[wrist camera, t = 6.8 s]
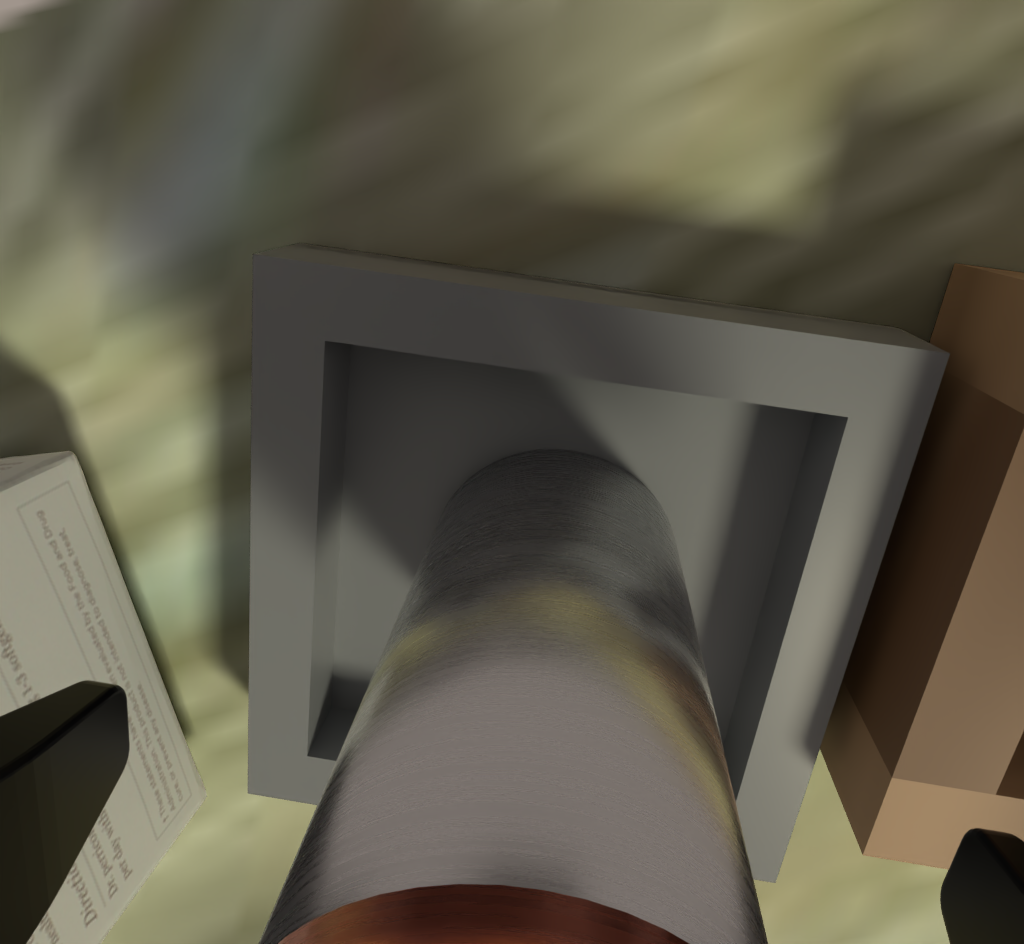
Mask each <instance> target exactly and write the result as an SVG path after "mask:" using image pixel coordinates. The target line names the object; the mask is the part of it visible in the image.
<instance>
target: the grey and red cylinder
mask: <svg viewBox="0 0 1024 944" xmlns="http://www.w3.org/2000/svg"><path fill="white" fill-rule="evenodd" d="M259 944H768V942H767V937H766V933H765V928H764V924H763V920H762V915H761V911H760V907H759V902H758V898H757V893H756V889H755V885H754V880H753V876H752V872H751V867H750V863H749V859H748V854H747V850H746V845H745V841H744V837H743V832H742V828H741V824H740V819H739V815H738V810H737V806H736V802H735V797H734V793H733V789H732V784H731V780H730V775H729V771H728V767H727V762H726V758H725V754H724V749H723V745H722V740H721V736H720V732H719V727H718V723H717V719H716V714H715V710H714V706H713V701H712V697H711V692H710V688H709V684H708V679H707V675H706V671H705V666H704V662H703V657H702V653H701V649H700V644H699V640H698V636H697V631H696V627H695V622H694V618H693V614H692V609H691V605H690V601H689V596H688V592H687V587H686V583H685V579H684V574H683V570H682V566H681V561H680V557H679V553H678V548H677V544H676V540H675V536H674V533H673V530H672V526H671V524H670V522H669V520H668V518H667V515H666V513H665V511H664V510H663V508H662V507H661V505H660V504H659V502H658V501H657V499H656V498H655V497H654V496H653V494H652V493H651V492H650V491H649V490H648V489H647V488H646V486H644V485H643V484H642V483H641V482H640V481H639V480H638V479H636V478H635V477H634V476H633V475H631V474H630V473H628V472H627V471H625V470H624V469H622V468H621V467H619V466H617V465H615V464H613V463H611V462H609V461H607V460H605V459H602V458H599V457H596V456H594V455H591V454H587V453H582V452H578V451H573V450H563V449H538V450H532V451H525V452H520V453H517V454H514V455H510V456H507V457H504V458H502V459H500V460H497V461H495V462H493V463H491V464H489V465H487V466H486V467H484V468H482V469H481V470H479V471H478V472H476V473H475V474H474V475H473V476H471V477H470V478H469V479H468V480H466V481H465V482H464V483H463V484H462V485H461V487H460V488H459V489H458V490H457V491H456V492H455V493H454V494H453V496H452V497H451V499H450V500H449V502H448V503H447V505H446V506H445V508H444V510H443V512H442V514H441V516H440V518H439V521H438V523H437V525H436V528H435V530H434V533H433V535H432V537H431V540H430V542H429V544H428V547H427V549H426V551H425V554H424V556H423V558H422V561H421V563H420V565H419V568H418V570H417V572H416V575H415V577H414V580H413V582H412V584H411V587H410V589H409V591H408V594H407V596H406V598H405V601H404V603H403V605H402V608H401V610H400V612H399V615H398V617H397V620H396V622H395V624H394V627H393V629H392V631H391V634H390V636H389V638H388V641H387V643H386V645H385V648H384V650H383V652H382V655H381V657H380V659H379V662H378V664H377V667H376V669H375V671H374V674H373V676H372V678H371V681H370V683H369V685H368V688H367V690H366V692H365V695H364V697H363V699H362V702H361V704H360V707H359V709H358V711H357V714H356V716H355V718H354V721H353V723H352V725H351V728H350V730H349V732H348V735H347V737H346V739H345V742H344V744H343V747H342V749H341V751H340V754H339V756H338V758H337V761H336V763H335V765H334V768H333V770H332V772H331V775H330V777H329V779H328V782H327V784H326V786H325V789H324V791H323V794H322V796H321V798H320V801H319V803H318V805H317V808H316V810H315V812H314V815H313V817H312V819H311V822H310V824H309V826H308V829H307V831H306V834H305V836H304V838H303V841H302V843H301V845H300V848H299V850H298V852H297V855H296V857H295V859H294V862H293V864H292V866H291V869H290V871H289V873H288V876H287V878H286V881H285V883H284V885H283V888H282V890H281V892H280V895H279V897H278V899H277V902H276V904H275V906H274V909H273V911H272V913H271V916H270V918H269V921H268V923H267V925H266V928H265V930H264V932H263V935H262V937H261V939H260V942H259Z"/></svg>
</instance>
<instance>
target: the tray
mask: <svg viewBox="0 0 1024 944" xmlns="http://www.w3.org/2000/svg"><path fill="white" fill-rule="evenodd" d="M949 356H950V353H948V352H946V351H944V350H942V349H940V348H938V347H936V346H934V345H932V344H930V343H928V342H926V341H924V340H922V339H920V338H918V337H916V336H914V335H912V334H910V333H908V332H906V331H904V330H902V329H900V328H896V327H889V326H882V325H875V324H868V323H861V322H854V321H847V320H840V319H833V318H826V317H819V316H812V315H805V314H798V313H790V312H783V311H776V310H769V309H762V308H755V307H748V306H741V305H734V304H727V303H720V302H713V301H706V300H699V299H692V298H685V297H678V296H671V295H664V294H656V293H649V292H642V291H635V290H628V289H621V288H614V287H607V286H600V285H593V284H586V283H579V282H572V281H565V280H558V279H551V278H544V277H537V276H530V275H522V274H515V273H508V272H501V271H494V270H487V269H480V268H473V267H466V266H459V265H452V264H445V263H438V262H431V261H424V260H417V259H410V258H403V257H396V256H388V255H381V254H374V253H367V252H360V251H353V250H346V249H339V248H332V247H325V246H318V245H311V244H304V243H297V244H293V245H289V246H285V247H280V248H276V249H272V250H268V251H264V252H259V253H255V254H253V295H252V400H251V506H250V611H249V717H248V793H249V794H255V795H261V796H266V797H272V798H278V799H284V800H290V801H296V802H302V803H308V804H314V805H318V803H319V801H320V798H321V796H322V794H323V791H324V789H325V786H326V784H327V782H328V779H329V777H330V775H331V772H332V770H333V768H334V765H335V763H336V761H337V758H338V756H339V754H340V751H341V749H342V747H343V744H344V742H345V739H346V737H347V735H348V732H349V730H350V728H351V725H352V723H353V721H354V718H355V716H356V714H357V711H358V709H359V707H360V704H361V702H362V699H363V697H364V695H365V692H366V690H367V688H368V685H369V683H370V681H371V678H372V676H373V674H374V671H375V669H376V667H377V664H378V662H379V659H380V657H381V655H382V652H383V650H384V648H385V645H386V643H387V641H388V638H389V636H390V634H391V631H392V629H393V627H394V624H395V622H396V620H397V617H398V615H399V612H400V610H401V608H402V605H403V603H404V601H405V598H406V596H407V594H408V591H409V589H410V587H411V584H412V582H413V580H414V577H415V575H416V572H417V570H418V568H419V565H420V563H421V561H422V558H423V556H424V554H425V551H426V549H427V547H428V544H429V542H430V540H431V537H432V535H433V533H434V530H435V528H436V525H437V523H438V521H439V518H440V516H441V514H442V512H443V510H444V508H445V506H446V505H447V503H448V502H449V500H450V499H451V497H452V496H453V494H454V493H455V492H456V491H457V490H458V489H459V488H460V487H461V485H462V484H463V483H464V482H465V481H466V480H468V479H469V478H470V477H471V476H473V475H474V474H475V473H476V472H478V471H479V470H481V469H482V468H484V467H486V466H487V465H489V464H491V463H493V462H495V461H497V460H500V459H502V458H504V457H507V456H510V455H514V454H517V453H520V452H525V451H532V450H538V449H563V450H573V451H578V452H582V453H587V454H591V455H594V456H596V457H599V458H602V459H605V460H607V461H609V462H611V463H613V464H615V465H617V466H619V467H621V468H622V469H624V470H625V471H627V472H628V473H630V474H631V475H633V476H634V477H635V478H636V479H638V480H639V481H640V482H641V483H642V484H643V485H644V486H646V488H647V489H648V490H649V491H650V492H651V493H652V494H653V496H654V497H655V498H656V499H657V501H658V502H659V504H660V505H661V507H662V508H663V510H664V511H665V513H666V515H667V518H668V520H669V522H670V524H671V526H672V530H673V533H674V536H675V540H676V544H677V548H678V553H679V557H680V561H681V566H682V570H683V574H684V579H685V583H686V587H687V592H688V596H689V601H690V605H691V609H692V614H693V618H694V622H695V627H696V631H697V636H698V640H699V644H700V649H701V653H702V657H703V662H704V666H705V671H706V675H707V679H708V684H709V688H710V692H711V697H712V701H713V706H714V710H715V714H716V719H717V723H718V727H719V732H720V736H721V740H722V745H723V749H724V754H725V758H726V762H727V767H728V771H729V775H730V780H731V784H732V789H733V793H734V797H735V802H736V806H737V810H738V815H739V819H740V824H741V828H742V832H743V837H744V841H745V845H746V850H747V854H748V859H749V863H750V867H751V872H752V876H753V879H755V880H761V881H767V882H773V883H775V882H776V879H777V876H778V873H779V870H780V867H781V864H782V861H783V858H784V855H785V852H786V849H787V846H788V843H789V840H790V837H791V834H792V831H793V828H794V825H795V822H796V819H797V816H798V813H799V810H800V807H801V804H802V801H803V798H804V795H805V792H806V789H807V786H808V783H809V780H810V777H811V773H812V770H813V767H814V764H815V761H816V758H817V755H818V752H819V749H820V746H821V743H822V740H823V737H824V734H825V731H826V728H827V725H828V722H829V719H830V716H831V713H832V710H833V707H834V704H835V701H836V698H837V695H838V692H839V689H840V686H841V683H842V680H843V677H844V674H845V671H846V668H847V664H848V661H849V658H850V655H851V652H852V649H853V646H854V643H855V640H856V637H857V634H858V631H859V628H860V625H861V622H862V619H863V616H864V613H865V610H866V607H867V604H868V601H869V598H870V595H871V592H872V589H873V586H874V583H875V580H876V577H877V574H878V571H879V568H880V565H881V562H882V559H883V555H884V552H885V549H886V546H887V543H888V540H889V537H890V534H891V531H892V528H893V525H894V522H895V519H896V516H897V513H898V510H899V507H900V504H901V501H902V498H903V495H904V492H905V489H906V486H907V483H908V480H909V477H910V474H911V471H912V468H913V465H914V462H915V459H916V456H917V453H918V450H919V446H920V443H921V440H922V437H923V434H924V431H925V428H926V425H927V422H928V419H929V416H930V413H931V410H932V407H933V404H934V401H935V398H936V395H937V392H938V389H939V386H940V383H941V380H942V377H943V374H944V371H945V368H946V365H947V362H948V359H949Z"/></svg>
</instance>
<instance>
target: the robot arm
mask: <svg viewBox="0 0 1024 944" xmlns="http://www.w3.org/2000/svg"><path fill="white" fill-rule="evenodd" d="M129 750H130V742H129V724H128V707H127V696H126V693H125V690H124V689H123V688H122V687H121V686H119V685H116V684H110V683H104V682H98V681H92V680H84V681H80V682H78V683H75V684H73V685H71V686H68V687H66V688H64V689H61V690H59V691H57V692H55V693H52V694H50V695H48V696H45V697H43V698H41V699H39V700H36V701H34V702H32V703H30V704H27V705H25V706H23V707H20V708H18V709H16V710H14V711H11V712H9V713H7V714H4V715H2V716H0V944H26V943H27V942H28V940H29V939H30V937H31V936H32V934H33V933H34V931H35V930H36V928H37V927H38V925H39V923H40V922H41V920H42V919H43V917H44V916H45V914H46V912H47V911H48V909H49V908H50V906H51V904H52V903H53V901H54V899H55V897H56V896H57V894H58V892H59V890H60V888H61V887H62V885H63V883H64V881H65V879H66V878H67V876H68V874H69V872H70V870H71V868H72V866H73V865H74V863H75V861H76V859H77V857H78V855H79V853H80V851H81V850H82V848H83V846H84V844H85V842H86V840H87V838H88V837H89V835H90V833H91V831H92V829H93V827H94V825H95V823H96V822H97V820H98V818H99V816H100V814H101V812H102V810H103V809H104V807H105V805H106V803H107V801H108V799H109V797H110V795H111V794H112V792H113V790H114V788H115V786H116V784H117V782H118V781H119V779H120V777H121V775H122V773H123V771H124V769H125V766H126V764H127V760H128V756H129ZM940 901H941V910H942V915H943V918H944V922H945V926H946V930H947V934H948V937H949V941H950V944H1024V841H1022V840H1021V839H1020V838H1018V837H1017V836H1015V835H1013V834H1010V833H1006V832H1000V831H994V830H988V829H982V828H974V829H970V830H969V831H967V832H966V833H965V834H964V836H963V838H962V840H961V842H960V845H959V847H958V849H957V851H956V854H955V856H954V858H953V861H952V863H951V865H950V868H949V870H948V872H947V875H946V877H945V879H944V882H943V885H942V888H941V898H940Z"/></svg>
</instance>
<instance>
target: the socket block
mask: <svg viewBox="0 0 1024 944" xmlns="http://www.w3.org/2000/svg"><path fill="white" fill-rule="evenodd" d="M930 344H932V345H934V346H936V347H938V348H940V349H942V350H944V351H946V352H948V353H950V356H949V359H948V362H947V365H946V368H945V371H944V374H943V377H942V380H941V383H940V386H939V389H938V392H937V395H936V398H935V401H934V404H933V407H932V410H931V413H930V416H929V419H928V422H927V425H926V428H925V431H924V434H923V437H922V440H921V443H920V446H919V450H918V453H917V456H916V459H915V462H914V465H913V468H912V471H911V474H910V477H909V480H908V483H907V486H906V489H905V492H904V495H903V498H902V501H901V504H900V507H899V510H898V513H897V516H896V519H895V522H894V525H893V528H892V531H891V534H890V537H889V540H888V543H887V546H886V549H885V552H884V555H883V559H882V562H881V565H880V568H879V571H878V574H877V577H876V580H875V583H874V586H873V589H872V592H871V595H870V598H869V601H868V604H867V607H866V610H865V613H864V616H863V619H862V622H861V625H860V628H859V631H858V634H857V637H856V640H855V643H854V646H853V649H852V652H851V655H850V658H849V661H848V664H847V668H846V671H845V674H844V677H843V680H842V683H841V686H840V689H839V692H838V695H837V698H836V701H835V704H834V707H833V710H832V713H831V716H830V719H829V722H828V725H827V728H826V731H825V734H824V737H823V740H822V743H821V746H820V750H821V752H822V755H823V757H824V760H825V762H826V765H827V767H828V770H829V772H830V775H831V777H832V780H833V782H834V785H835V787H836V790H837V792H838V794H839V797H840V799H841V802H842V804H843V807H844V809H845V812H846V814H847V817H848V819H849V822H850V824H851V827H852V829H853V832H854V834H855V837H856V839H857V842H858V844H859V847H860V849H861V852H862V854H863V855H866V856H872V857H878V858H884V859H890V860H896V861H902V862H908V863H913V864H919V865H925V866H931V867H937V868H943V869H949V868H950V865H951V863H952V861H953V858H954V856H955V854H956V851H957V849H958V847H959V845H960V842H961V840H962V838H963V836H964V834H965V833H966V832H967V831H969V830H970V829H974V828H982V829H988V830H994V831H1000V832H1006V833H1010V834H1013V835H1015V836H1017V837H1018V838H1020V839H1021V840H1022V841H1024V273H1022V272H1015V271H1008V270H1000V269H993V268H986V267H979V266H971V265H964V264H957V263H955V264H954V267H953V270H952V274H951V277H950V280H949V283H948V286H947V289H946V292H945V296H944V299H943V302H942V305H941V308H940V311H939V314H938V317H937V321H936V324H935V327H934V330H933V333H932V336H931V339H930Z"/></svg>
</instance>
